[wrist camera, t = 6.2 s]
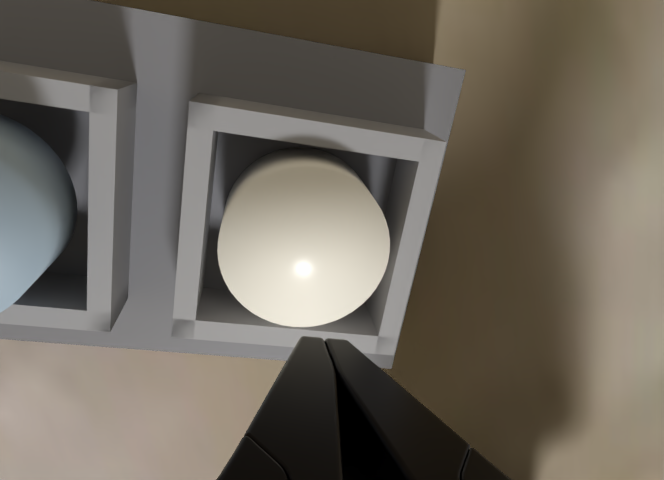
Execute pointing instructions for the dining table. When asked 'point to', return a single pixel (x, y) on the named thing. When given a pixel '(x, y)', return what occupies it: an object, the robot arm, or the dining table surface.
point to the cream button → (302, 239)
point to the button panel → (205, 168)
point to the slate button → (31, 209)
